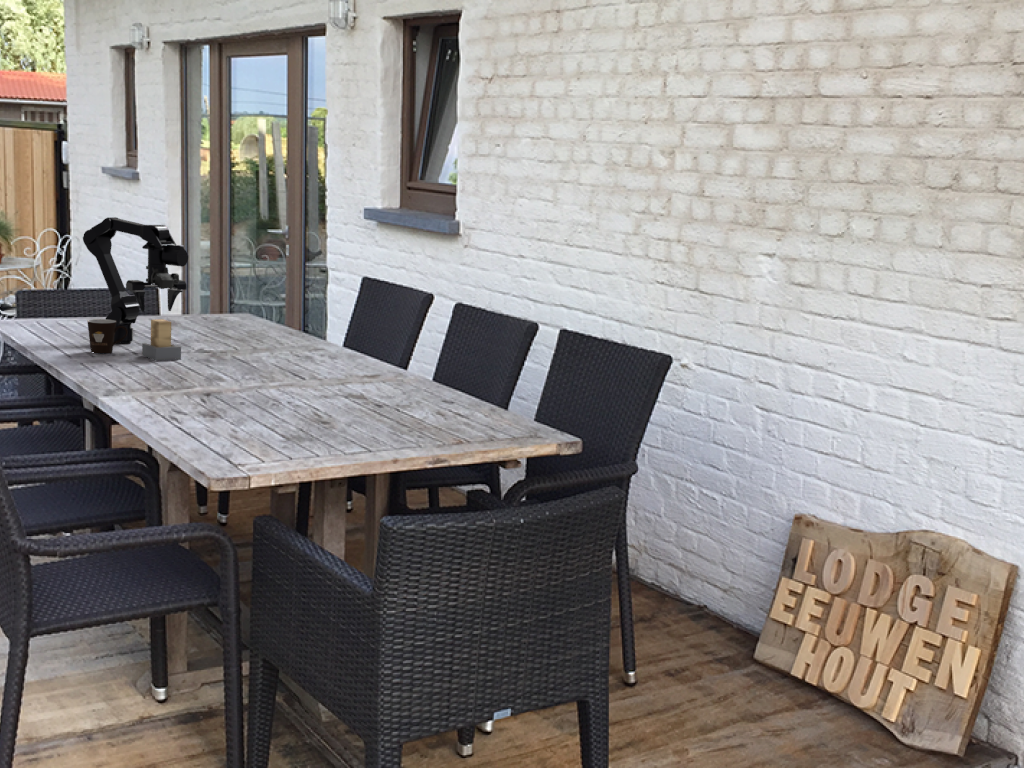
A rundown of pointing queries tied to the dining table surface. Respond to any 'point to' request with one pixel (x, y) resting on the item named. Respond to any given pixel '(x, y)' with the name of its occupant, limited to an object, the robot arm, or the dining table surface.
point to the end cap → (161, 352)
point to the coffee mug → (103, 335)
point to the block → (161, 333)
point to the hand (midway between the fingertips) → (156, 311)
